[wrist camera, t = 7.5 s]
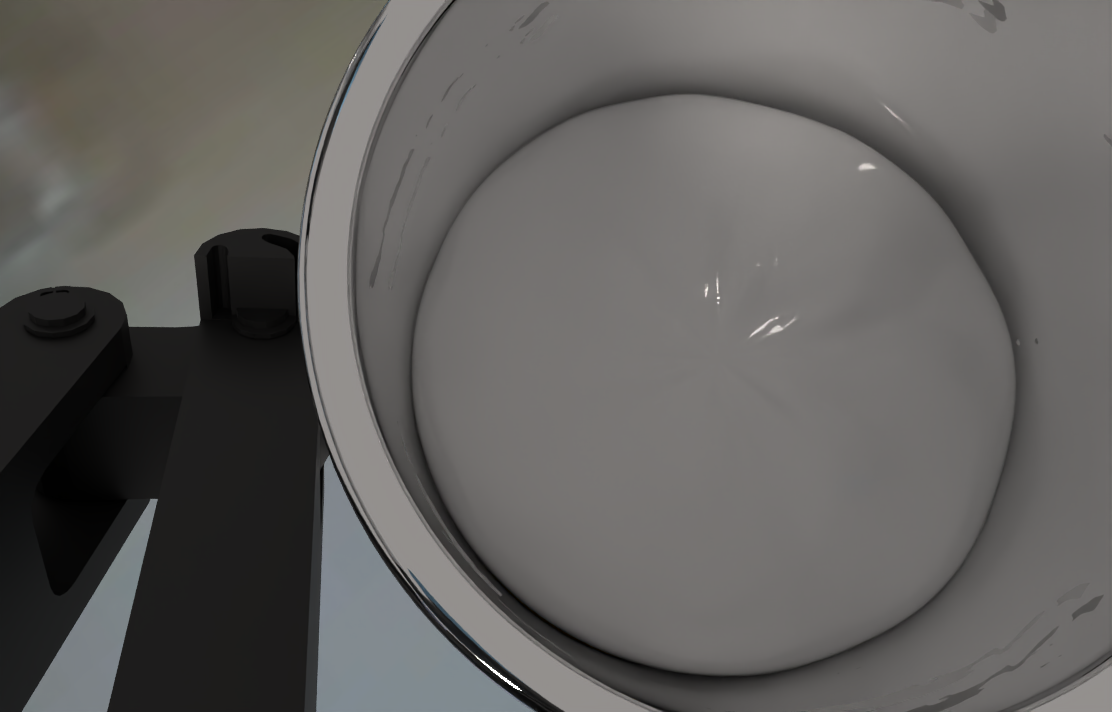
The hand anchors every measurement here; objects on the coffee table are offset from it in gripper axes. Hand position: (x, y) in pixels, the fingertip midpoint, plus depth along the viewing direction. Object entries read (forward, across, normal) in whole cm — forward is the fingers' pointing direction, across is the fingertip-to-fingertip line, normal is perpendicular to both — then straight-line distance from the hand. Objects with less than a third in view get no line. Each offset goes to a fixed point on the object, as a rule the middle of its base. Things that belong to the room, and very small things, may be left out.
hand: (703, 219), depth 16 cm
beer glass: (+2, 0, -6) cm, 7 cm away
